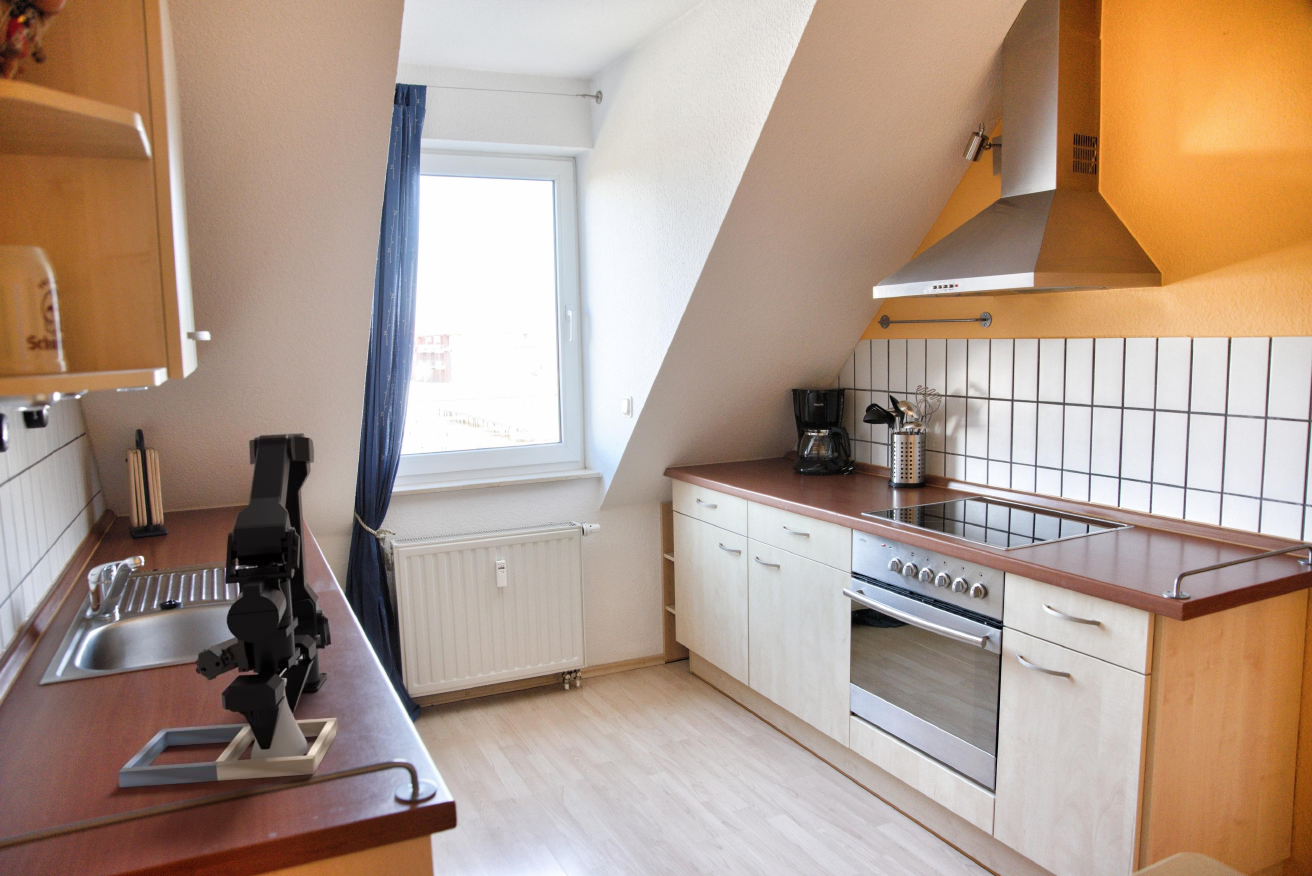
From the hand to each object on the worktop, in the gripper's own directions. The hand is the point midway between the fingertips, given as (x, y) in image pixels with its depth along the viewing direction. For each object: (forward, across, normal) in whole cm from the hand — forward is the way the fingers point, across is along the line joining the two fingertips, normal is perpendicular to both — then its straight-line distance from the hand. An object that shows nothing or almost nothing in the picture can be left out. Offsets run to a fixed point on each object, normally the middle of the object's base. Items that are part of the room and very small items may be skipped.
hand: (277, 732), depth 116 cm
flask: (+3, 0, 0) cm, 3 cm away
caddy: (+3, 0, -6) cm, 6 cm away
